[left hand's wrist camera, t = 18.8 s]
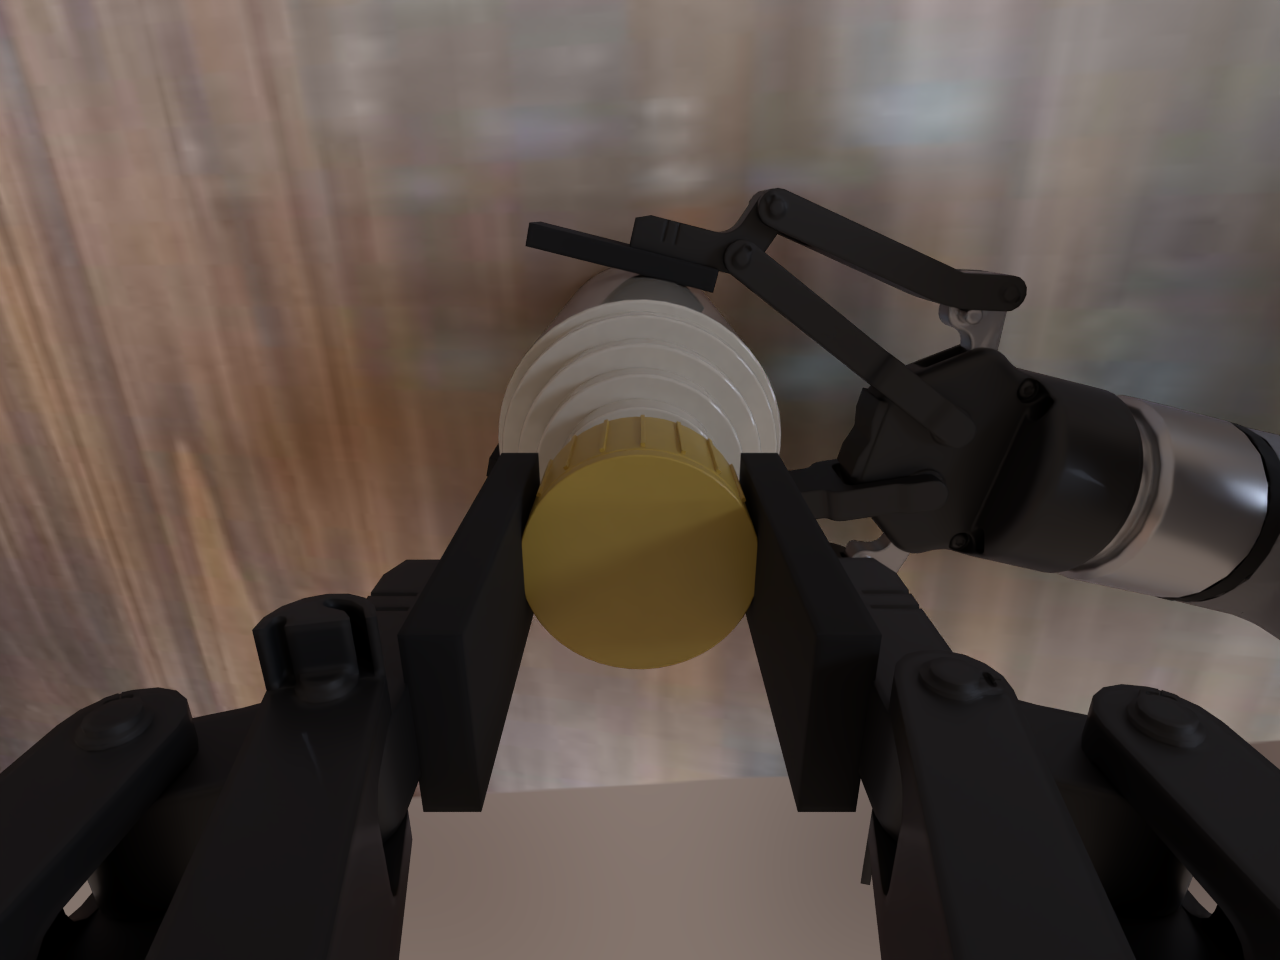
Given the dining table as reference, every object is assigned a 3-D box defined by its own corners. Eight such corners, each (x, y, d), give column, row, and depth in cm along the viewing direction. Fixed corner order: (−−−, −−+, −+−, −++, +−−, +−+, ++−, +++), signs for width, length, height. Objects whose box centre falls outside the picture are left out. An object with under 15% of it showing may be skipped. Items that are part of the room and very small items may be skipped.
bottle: (664, 458, 34) (696, 777, 15) (526, 375, 32) (361, 610, 13) (756, 323, 31) (936, 493, 12) (611, 227, 30) (563, 251, 11)
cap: (573, 381, 13) (560, 414, 11) (779, 455, 14) (805, 502, 12) (508, 568, 15) (486, 630, 13) (697, 628, 15) (707, 698, 13)
